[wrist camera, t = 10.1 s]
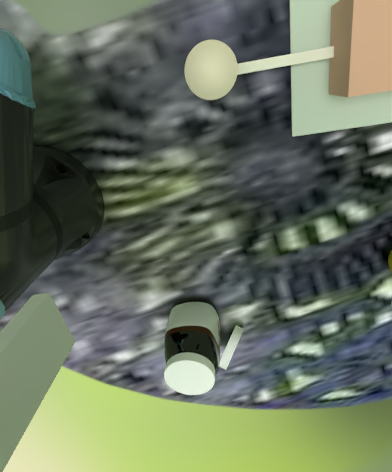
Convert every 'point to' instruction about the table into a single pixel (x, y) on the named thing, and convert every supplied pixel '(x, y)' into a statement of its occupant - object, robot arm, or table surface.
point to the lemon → (390, 260)
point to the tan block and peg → (312, 55)
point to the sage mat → (325, 79)
